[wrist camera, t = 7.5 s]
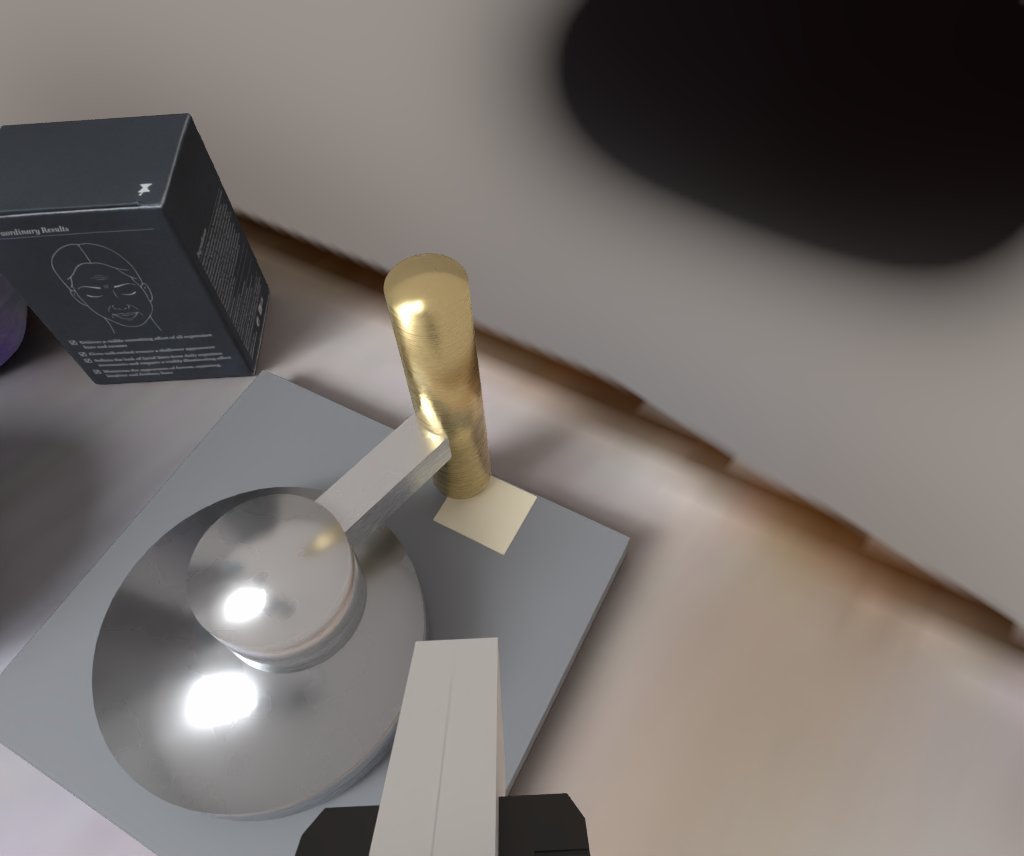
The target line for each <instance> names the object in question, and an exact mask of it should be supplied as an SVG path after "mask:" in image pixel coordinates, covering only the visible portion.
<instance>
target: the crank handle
mask: <svg viewBox="0 0 1024 856" xmlns="http://www.w3.org/2000/svg"><path fill="white" fill-rule="evenodd" d="M384 294H385V298H386V302H387V306H388V310H389V314H390V317H391V321H392V325H393V329H394V333H395V337H396V341H397V345H398V348H399V352H400V356H401V360H402V364H403V368H404V372H405V376H406V379H407V383H408V387H409V391H410V395H411V399H412V403H413V407H414V410H415V412H414V413H413V414H412V415H411V416H410V417H409V418H408V419H407V420H405V421H404V422H403V423H402V424H401V425H400V426H399V427H398V428H396V429H395V430H394V431H393V432H392V433H391V434H390V435H389V436H387V437H386V438H385V439H384V440H383V441H382V442H381V443H380V444H378V445H377V446H376V447H375V448H374V449H373V450H372V451H371V452H369V453H368V454H367V455H366V456H365V457H364V458H363V459H362V460H360V461H359V462H358V463H357V464H356V465H355V466H354V467H353V468H351V469H350V470H349V471H348V472H347V473H346V474H345V475H344V476H342V477H341V478H340V479H339V480H338V481H337V482H336V483H335V484H333V485H332V486H331V487H330V488H329V489H328V490H327V491H322V490H318V489H312V488H303V487H273V488H265V489H257V490H253V491H249V492H245V493H240V494H237V495H234V496H231V497H229V498H226V499H223V500H220V501H218V502H216V503H214V504H212V505H209V506H207V507H205V508H203V509H201V510H199V511H198V512H196V513H194V514H193V515H191V516H189V517H188V518H186V519H184V520H183V521H181V522H180V523H179V524H177V525H176V526H175V527H173V528H172V529H171V530H169V531H168V532H167V533H165V534H164V535H163V536H162V537H161V538H160V539H159V540H158V541H157V542H156V543H155V544H153V545H152V546H151V547H150V548H149V549H148V550H147V552H146V553H145V554H144V555H143V556H142V557H141V558H140V559H139V561H138V562H137V563H136V564H135V565H134V567H133V568H132V569H131V571H130V572H129V573H128V575H127V576H126V578H125V579H124V580H123V582H122V583H121V585H120V587H119V589H118V590H117V592H116V594H115V596H114V598H113V599H112V601H111V603H110V606H109V608H108V610H107V612H106V615H105V617H104V619H103V622H102V625H101V628H100V632H99V635H98V638H97V642H96V647H95V653H94V659H93V666H92V693H93V703H94V709H95V713H96V717H97V721H98V725H99V728H100V731H101V733H102V735H103V738H104V740H105V742H106V744H107V747H108V748H109V750H110V751H111V753H112V755H113V756H114V758H115V759H116V761H117V762H118V764H119V765H120V766H121V767H122V768H123V769H124V771H125V772H126V773H127V774H128V775H129V776H130V777H131V778H132V779H133V780H134V781H135V782H136V783H138V784H139V785H140V786H142V787H143V788H144V789H145V790H147V791H148V792H149V793H151V794H153V795H155V796H157V797H158V798H160V799H162V800H164V801H166V802H168V803H170V804H173V805H176V806H179V807H182V808H185V809H188V810H191V811H194V812H198V813H201V814H205V815H208V816H211V817H215V818H220V819H227V820H233V821H264V820H272V819H279V818H284V817H287V816H291V815H294V814H298V813H302V812H305V811H307V810H309V809H312V808H314V807H316V806H319V805H321V804H323V803H326V802H327V801H329V800H331V799H332V798H334V797H336V796H338V795H339V794H341V793H343V792H344V791H346V790H347V789H349V788H350V787H351V786H353V785H354V784H355V783H356V782H358V781H359V780H360V779H362V778H363V777H364V776H366V775H367V774H368V773H369V772H370V771H371V770H372V769H373V768H374V767H375V766H376V765H377V764H378V763H379V762H380V761H381V760H382V759H383V758H384V756H385V755H386V754H387V753H388V751H389V750H390V749H391V748H392V746H393V743H394V739H395V734H396V729H397V725H398V720H399V716H400V711H401V707H402V702H403V698H404V693H405V688H406V684H407V679H408V675H409V670H410V666H411V661H412V657H413V652H414V647H415V643H416V641H431V631H430V618H429V613H428V609H427V604H426V600H425V597H424V594H423V591H422V589H421V586H420V583H419V580H418V578H417V575H416V572H415V570H414V567H413V564H412V562H411V560H410V558H409V557H408V555H407V553H406V551H405V549H404V547H403V546H402V544H401V543H400V542H399V540H398V539H397V537H396V536H395V535H394V533H393V532H392V531H391V530H390V529H389V528H388V527H387V526H386V525H385V524H384V523H383V522H384V521H385V520H386V519H387V518H388V517H389V516H390V515H391V514H392V513H393V512H395V511H396V510H397V509H398V508H399V507H400V506H401V505H402V504H403V503H404V502H405V501H406V500H407V499H408V498H409V497H410V496H411V495H413V494H414V493H415V492H416V491H417V490H418V489H419V488H420V487H421V486H422V485H423V484H424V483H425V482H426V481H427V480H428V479H430V478H431V477H432V480H433V483H434V485H435V487H436V488H437V490H438V491H439V492H440V493H442V494H443V495H445V496H447V497H449V498H453V499H467V498H471V497H473V496H475V495H477V494H479V493H480V492H481V491H483V490H484V488H485V487H486V486H487V484H488V483H489V480H490V477H491V465H490V457H489V449H488V440H487V432H486V424H485V416H484V407H483V399H482V391H481V383H480V374H479V366H478V358H477V349H476V341H475V333H474V325H473V316H472V308H471V300H470V292H469V284H468V277H467V274H466V271H465V270H464V268H463V267H462V266H461V265H460V264H459V263H458V262H457V261H455V260H453V259H452V258H449V257H447V256H444V255H439V254H420V255H415V256H412V257H410V258H407V259H405V260H403V261H401V262H400V263H398V264H397V265H396V266H395V267H393V268H392V269H391V271H390V272H389V273H388V275H387V277H386V279H385V282H384Z"/></svg>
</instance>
